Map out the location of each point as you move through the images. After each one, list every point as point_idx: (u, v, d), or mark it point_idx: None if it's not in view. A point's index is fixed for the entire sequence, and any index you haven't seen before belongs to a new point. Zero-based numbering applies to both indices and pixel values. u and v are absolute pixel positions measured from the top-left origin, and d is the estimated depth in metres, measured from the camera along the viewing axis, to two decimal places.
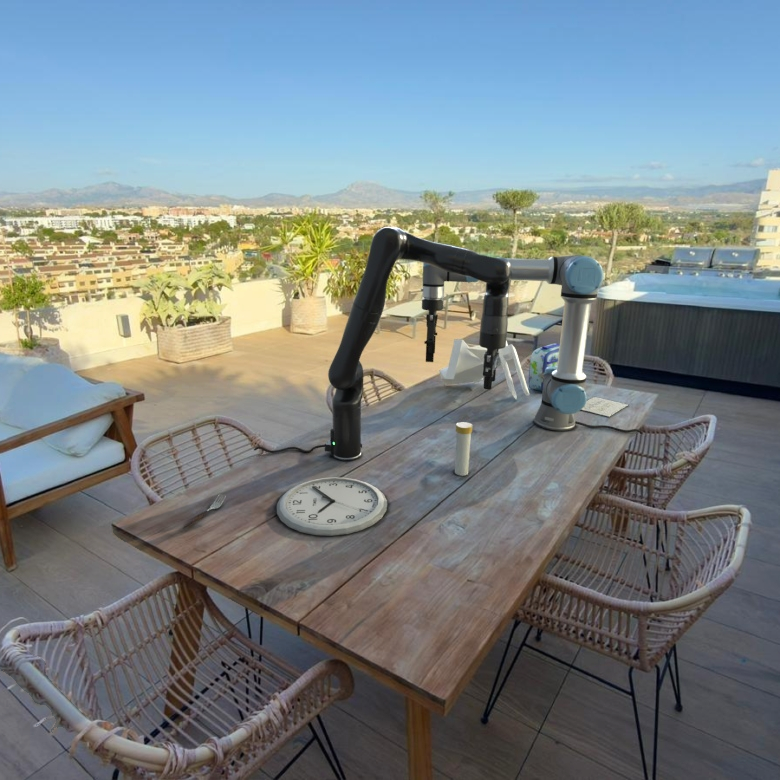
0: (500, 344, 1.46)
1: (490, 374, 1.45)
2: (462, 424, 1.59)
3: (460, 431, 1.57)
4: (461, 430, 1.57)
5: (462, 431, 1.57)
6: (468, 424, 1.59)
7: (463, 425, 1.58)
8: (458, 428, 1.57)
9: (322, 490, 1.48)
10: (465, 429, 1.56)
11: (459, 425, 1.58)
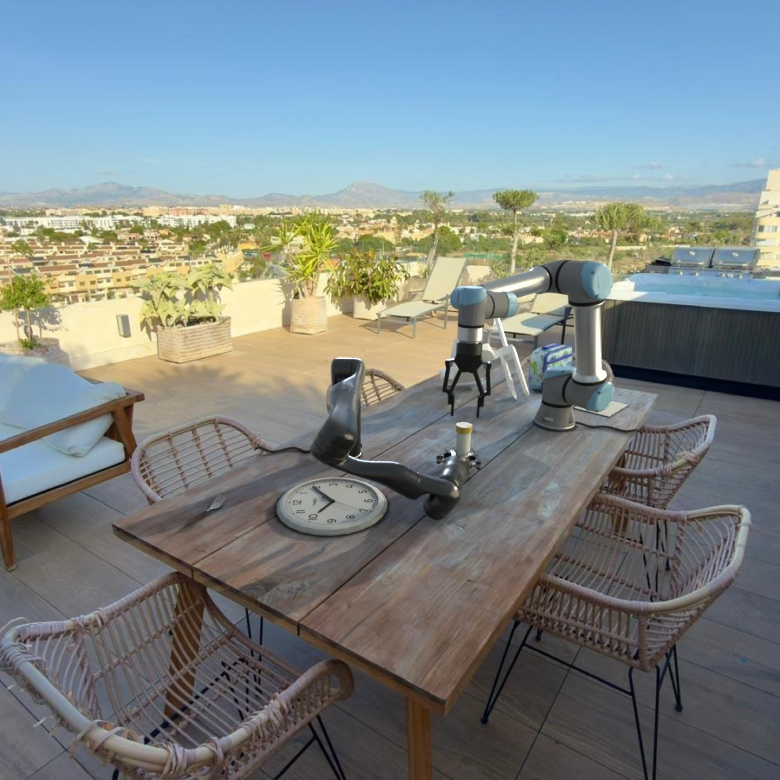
0: None
1: None
2: (462, 424, 1.59)
3: (460, 431, 1.57)
4: (461, 430, 1.57)
5: (462, 431, 1.57)
6: (468, 424, 1.59)
7: (463, 425, 1.58)
8: (458, 428, 1.57)
9: (322, 490, 1.48)
10: (465, 429, 1.56)
11: (459, 425, 1.58)
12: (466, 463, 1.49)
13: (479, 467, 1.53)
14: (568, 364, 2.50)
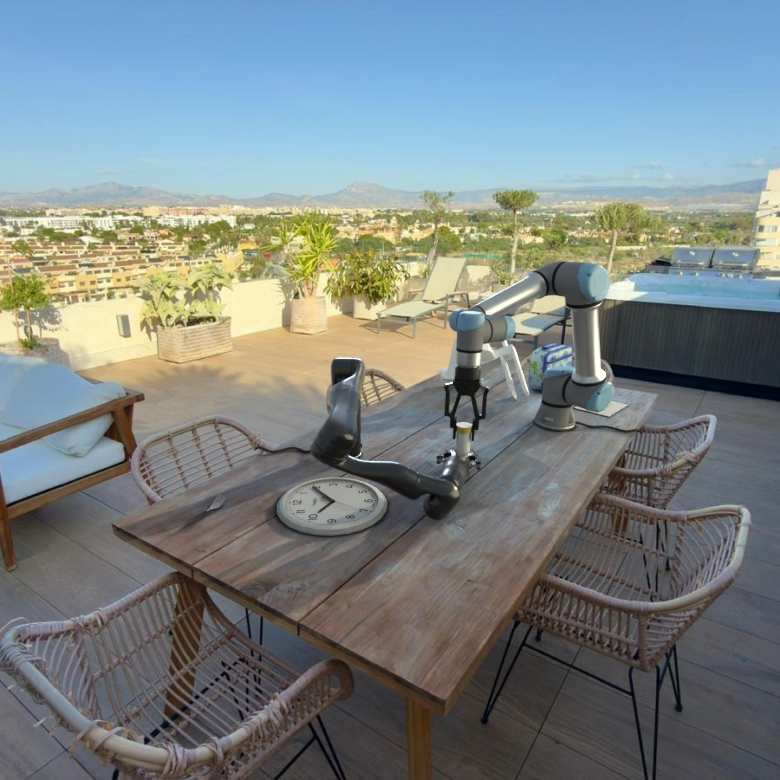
0: None
1: None
2: (462, 424, 1.59)
3: (460, 431, 1.57)
4: (461, 430, 1.57)
5: (462, 431, 1.57)
6: (468, 424, 1.59)
7: (463, 425, 1.58)
8: (458, 428, 1.57)
9: (322, 490, 1.48)
10: (465, 429, 1.56)
11: (459, 425, 1.58)
12: (466, 463, 1.49)
13: (479, 467, 1.53)
14: (568, 364, 2.50)
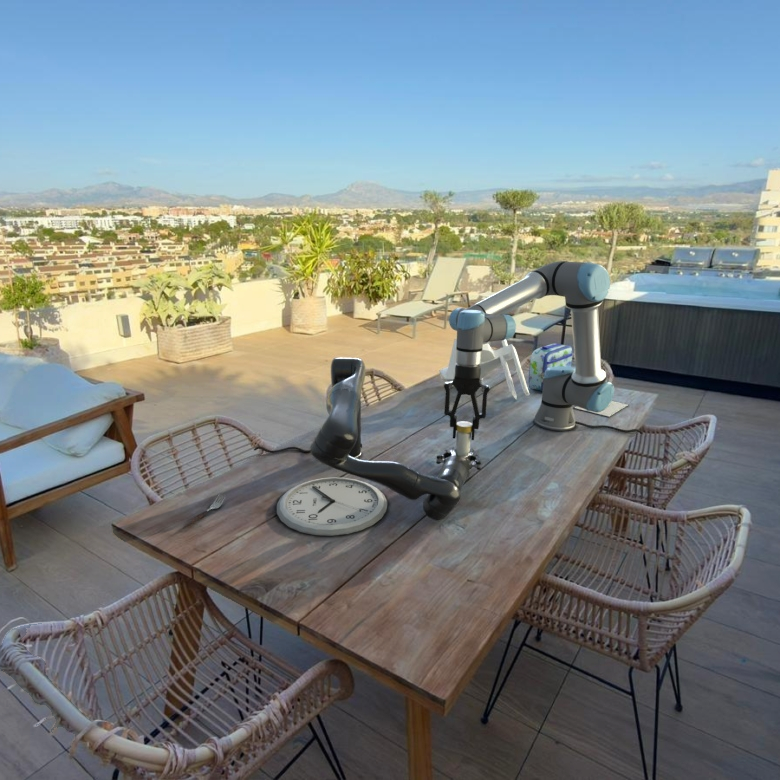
0: None
1: None
2: (463, 424, 1.58)
3: (471, 429, 1.58)
4: None
5: (471, 428, 1.58)
6: (461, 422, 1.60)
7: (467, 424, 1.58)
8: (470, 427, 1.57)
9: (322, 490, 1.48)
10: None
11: (467, 425, 1.57)
12: (466, 463, 1.49)
13: (479, 467, 1.53)
14: (568, 364, 2.50)
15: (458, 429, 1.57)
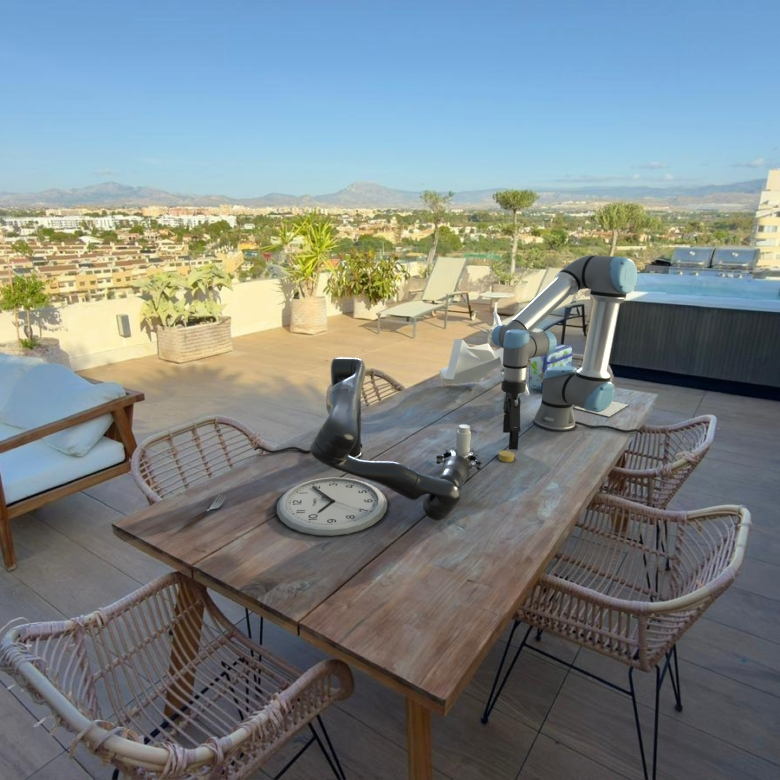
0: None
1: None
2: (508, 453, 1.73)
3: None
4: None
5: None
6: (503, 454, 1.72)
7: (506, 452, 1.74)
8: None
9: (322, 490, 1.48)
10: None
11: (510, 452, 1.74)
12: (466, 463, 1.49)
13: (479, 467, 1.53)
14: (568, 364, 2.50)
15: (512, 459, 1.72)
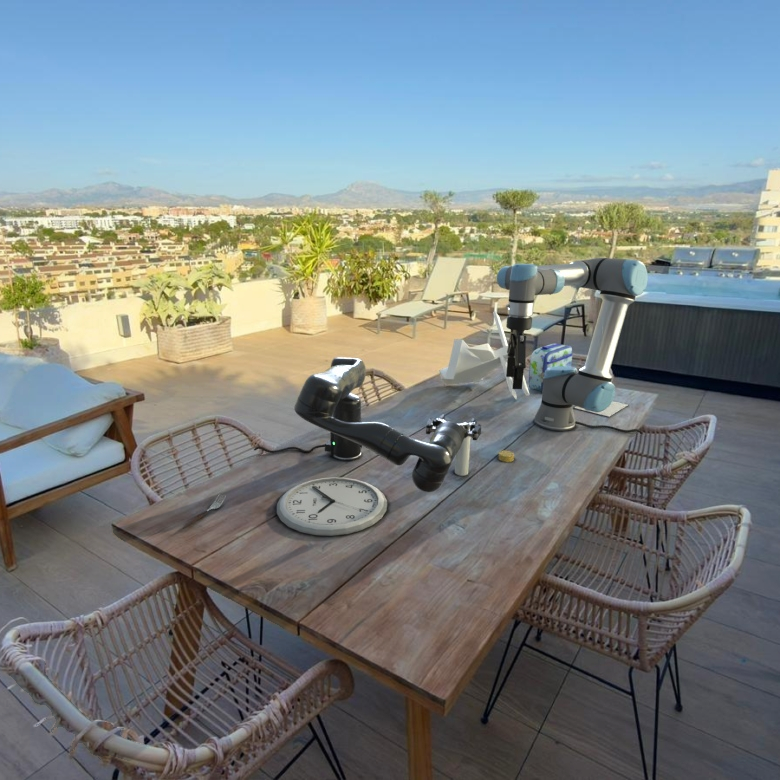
0: None
1: None
2: (508, 453, 1.73)
3: None
4: None
5: None
6: (503, 454, 1.72)
7: (506, 452, 1.74)
8: None
9: (322, 490, 1.48)
10: None
11: (510, 452, 1.74)
12: (460, 430, 1.32)
13: (474, 437, 1.35)
14: (568, 364, 2.50)
15: (512, 459, 1.72)
